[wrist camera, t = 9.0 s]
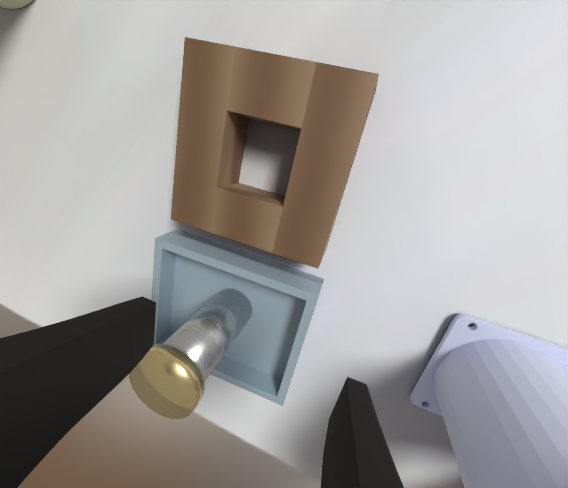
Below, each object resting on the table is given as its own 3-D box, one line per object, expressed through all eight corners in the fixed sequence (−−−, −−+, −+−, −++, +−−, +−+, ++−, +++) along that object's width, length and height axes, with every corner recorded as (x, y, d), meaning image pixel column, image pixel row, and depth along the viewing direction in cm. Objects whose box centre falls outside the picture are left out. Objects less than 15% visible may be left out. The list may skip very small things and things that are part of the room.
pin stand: (376, 89, 15) (378, 73, 12) (324, 251, 18) (318, 268, 16) (214, 57, 17) (184, 37, 14) (197, 210, 20) (170, 219, 17)
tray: (323, 279, 19) (318, 295, 17) (290, 380, 23) (282, 405, 20) (177, 229, 21) (155, 238, 19) (169, 329, 25) (149, 346, 22)
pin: (261, 294, 20) (199, 375, 12) (251, 336, 21) (191, 430, 14) (213, 276, 21) (129, 342, 13) (207, 318, 22) (128, 398, 15)
